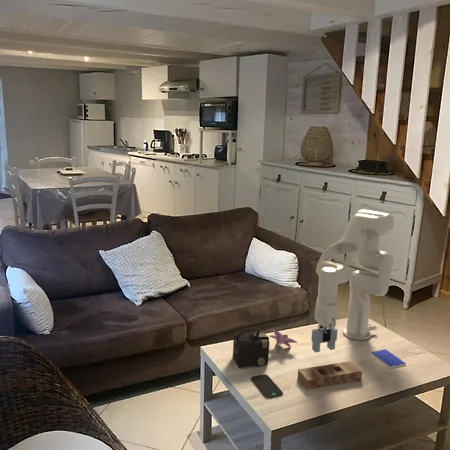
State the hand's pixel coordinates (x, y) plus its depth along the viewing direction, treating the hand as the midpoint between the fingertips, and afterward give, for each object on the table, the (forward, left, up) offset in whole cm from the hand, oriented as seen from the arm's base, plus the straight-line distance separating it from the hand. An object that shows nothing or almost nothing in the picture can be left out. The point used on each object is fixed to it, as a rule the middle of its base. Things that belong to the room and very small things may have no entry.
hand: (324, 338), depth 195 cm
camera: (+28, -11, -12) cm, 32 cm away
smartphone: (+29, +8, -13) cm, 32 cm away
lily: (+10, -17, -12) cm, 23 cm away
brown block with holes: (+3, +10, -12) cm, 16 cm away
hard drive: (-30, +3, -13) cm, 33 cm away
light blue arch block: (0, 0, -5) cm, 5 cm away
